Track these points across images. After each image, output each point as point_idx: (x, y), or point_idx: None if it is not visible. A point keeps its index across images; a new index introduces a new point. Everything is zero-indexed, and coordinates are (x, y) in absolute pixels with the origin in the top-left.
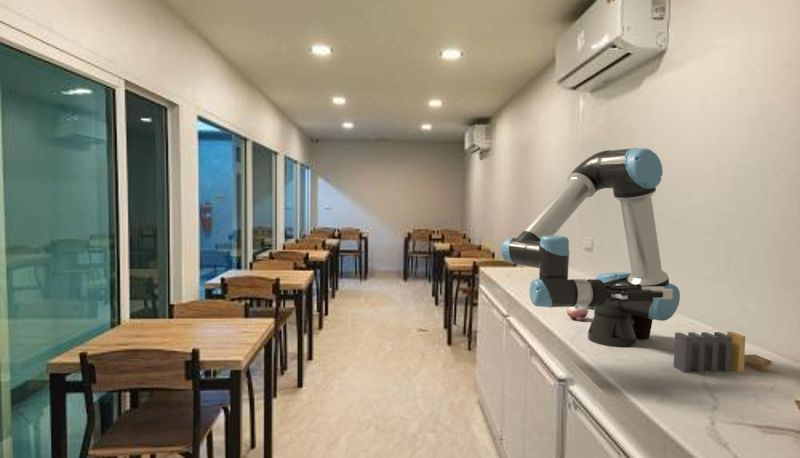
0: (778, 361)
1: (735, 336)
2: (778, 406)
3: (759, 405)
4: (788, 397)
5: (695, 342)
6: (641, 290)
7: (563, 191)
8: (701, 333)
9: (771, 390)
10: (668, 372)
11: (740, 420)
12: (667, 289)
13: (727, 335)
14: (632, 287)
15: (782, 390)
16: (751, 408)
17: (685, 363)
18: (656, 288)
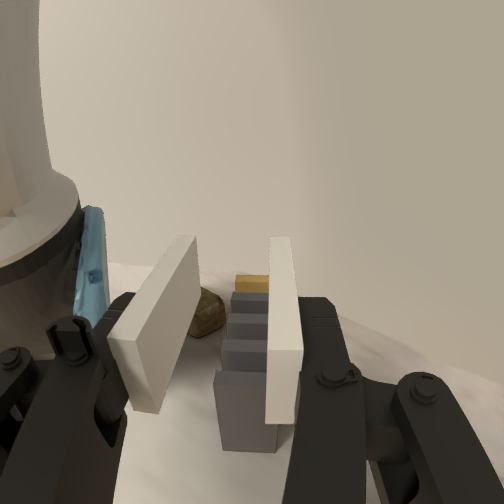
0: (232, 278)
1: (263, 285)
2: (460, 382)
3: (467, 406)
4: (411, 351)
5: (259, 369)
6: (354, 476)
7: None
8: (227, 325)
9: (382, 356)
10: (269, 491)
11: None
12: (291, 253)
13: (266, 294)
14: (70, 444)
15: (378, 342)
16: (485, 423)
17: (276, 438)
18: (180, 273)
